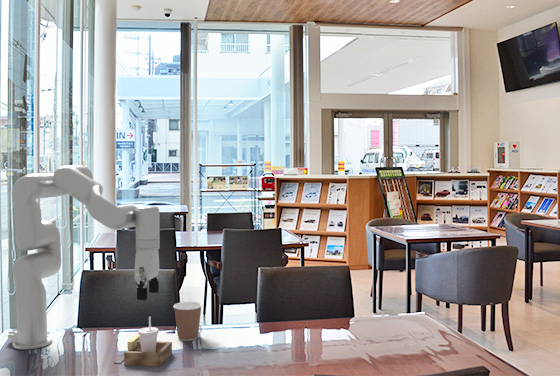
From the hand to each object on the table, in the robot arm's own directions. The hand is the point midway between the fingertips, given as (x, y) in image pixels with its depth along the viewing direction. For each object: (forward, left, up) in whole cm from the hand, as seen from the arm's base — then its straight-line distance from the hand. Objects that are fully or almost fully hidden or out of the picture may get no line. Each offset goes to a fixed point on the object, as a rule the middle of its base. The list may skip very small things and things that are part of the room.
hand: (148, 296), depth 176 cm
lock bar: (-8, +8, -20) cm, 23 cm away
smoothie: (+1, -2, -20) cm, 20 cm away
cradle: (-1, +2, -20) cm, 20 cm away
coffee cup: (+7, +20, -20) cm, 30 cm away
